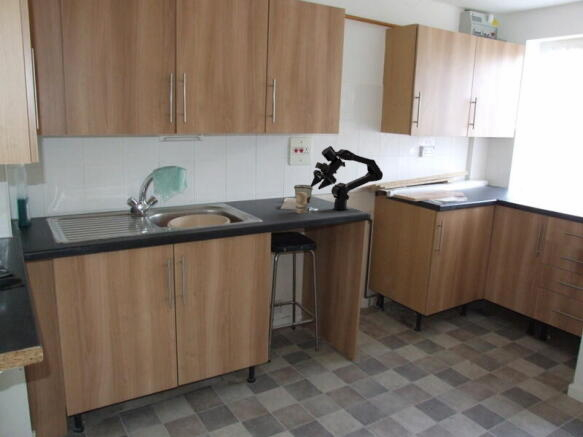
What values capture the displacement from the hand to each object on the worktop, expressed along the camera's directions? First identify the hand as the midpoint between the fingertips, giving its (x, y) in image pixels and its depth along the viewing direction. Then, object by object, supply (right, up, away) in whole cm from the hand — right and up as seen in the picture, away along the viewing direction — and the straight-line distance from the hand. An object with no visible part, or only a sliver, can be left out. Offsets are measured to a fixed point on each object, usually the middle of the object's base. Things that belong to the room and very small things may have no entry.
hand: (314, 187), depth 267 cm
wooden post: (-8, -14, 0) cm, 16 cm away
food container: (-5, -7, +32) cm, 33 cm away
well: (-12, -11, +13) cm, 21 cm away
